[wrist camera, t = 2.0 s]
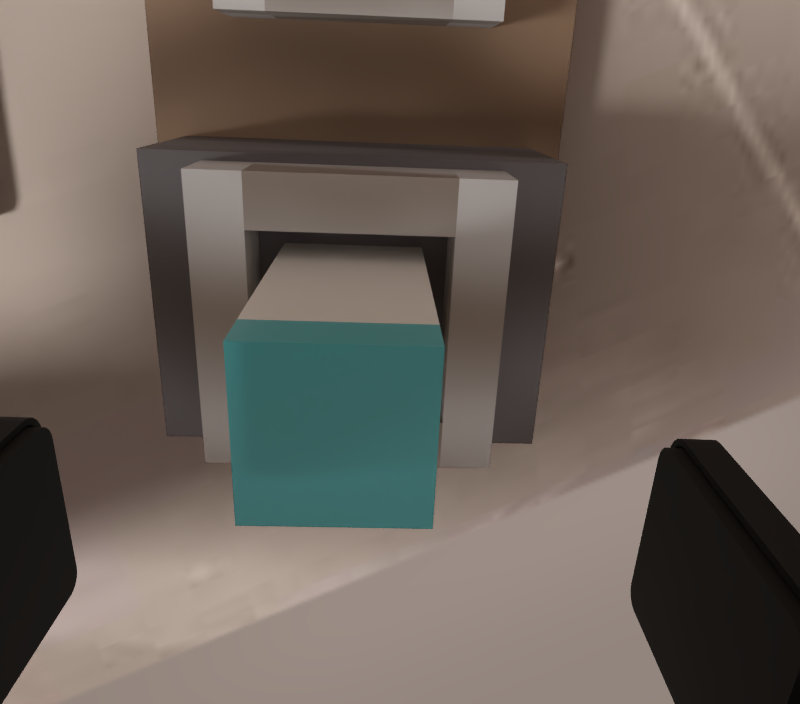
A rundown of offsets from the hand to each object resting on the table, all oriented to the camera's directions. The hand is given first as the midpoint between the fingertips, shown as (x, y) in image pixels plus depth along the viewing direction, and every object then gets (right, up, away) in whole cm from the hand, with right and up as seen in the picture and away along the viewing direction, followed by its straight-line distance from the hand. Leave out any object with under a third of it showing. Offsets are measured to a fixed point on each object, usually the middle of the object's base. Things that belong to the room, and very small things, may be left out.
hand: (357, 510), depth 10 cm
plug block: (-1, +4, +10) cm, 11 cm away
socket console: (-1, +12, +14) cm, 18 cm away
